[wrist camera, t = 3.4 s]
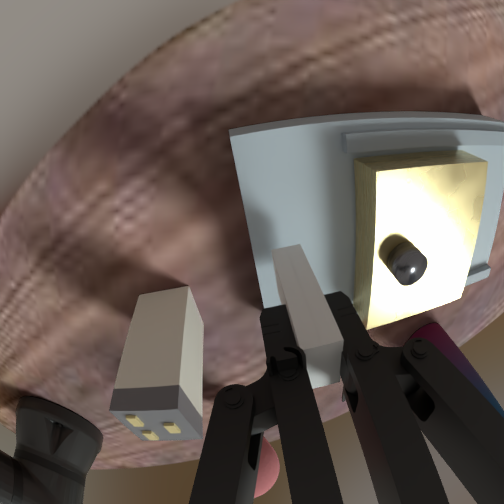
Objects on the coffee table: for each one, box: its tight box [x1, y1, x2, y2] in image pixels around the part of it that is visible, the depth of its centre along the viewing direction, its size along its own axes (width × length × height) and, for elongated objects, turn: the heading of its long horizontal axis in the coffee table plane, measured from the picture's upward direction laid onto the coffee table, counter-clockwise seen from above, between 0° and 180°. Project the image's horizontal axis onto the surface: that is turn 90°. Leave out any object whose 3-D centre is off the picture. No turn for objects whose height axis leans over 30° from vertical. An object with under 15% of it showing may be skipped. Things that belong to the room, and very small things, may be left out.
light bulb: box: [254, 436, 279, 498], centre depth 24 cm, size 7×7×12 cm
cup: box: [409, 323, 504, 418], centre depth 22 cm, size 7×7×15 cm
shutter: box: [353, 150, 488, 330], centre depth 15 cm, size 8×10×4 cm
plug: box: [109, 286, 204, 441], centre depth 18 cm, size 4×4×10 cm
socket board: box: [228, 111, 504, 314], centre depth 18 cm, size 20×14×4 cm
